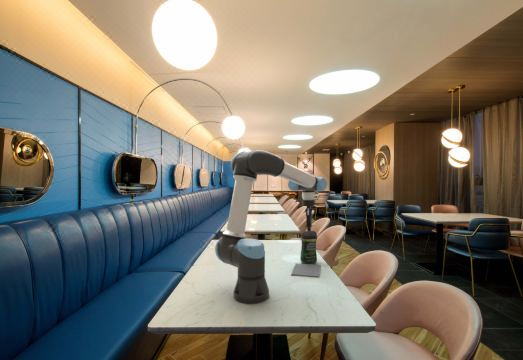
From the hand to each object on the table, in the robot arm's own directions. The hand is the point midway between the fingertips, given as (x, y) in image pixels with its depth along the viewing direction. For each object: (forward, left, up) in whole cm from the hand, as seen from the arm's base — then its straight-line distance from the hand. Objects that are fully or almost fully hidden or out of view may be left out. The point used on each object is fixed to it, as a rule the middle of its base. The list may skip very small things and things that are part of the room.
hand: (309, 237), depth 163 cm
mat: (-19, 0, -14) cm, 24 cm away
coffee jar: (-4, 0, -14) cm, 14 cm away
